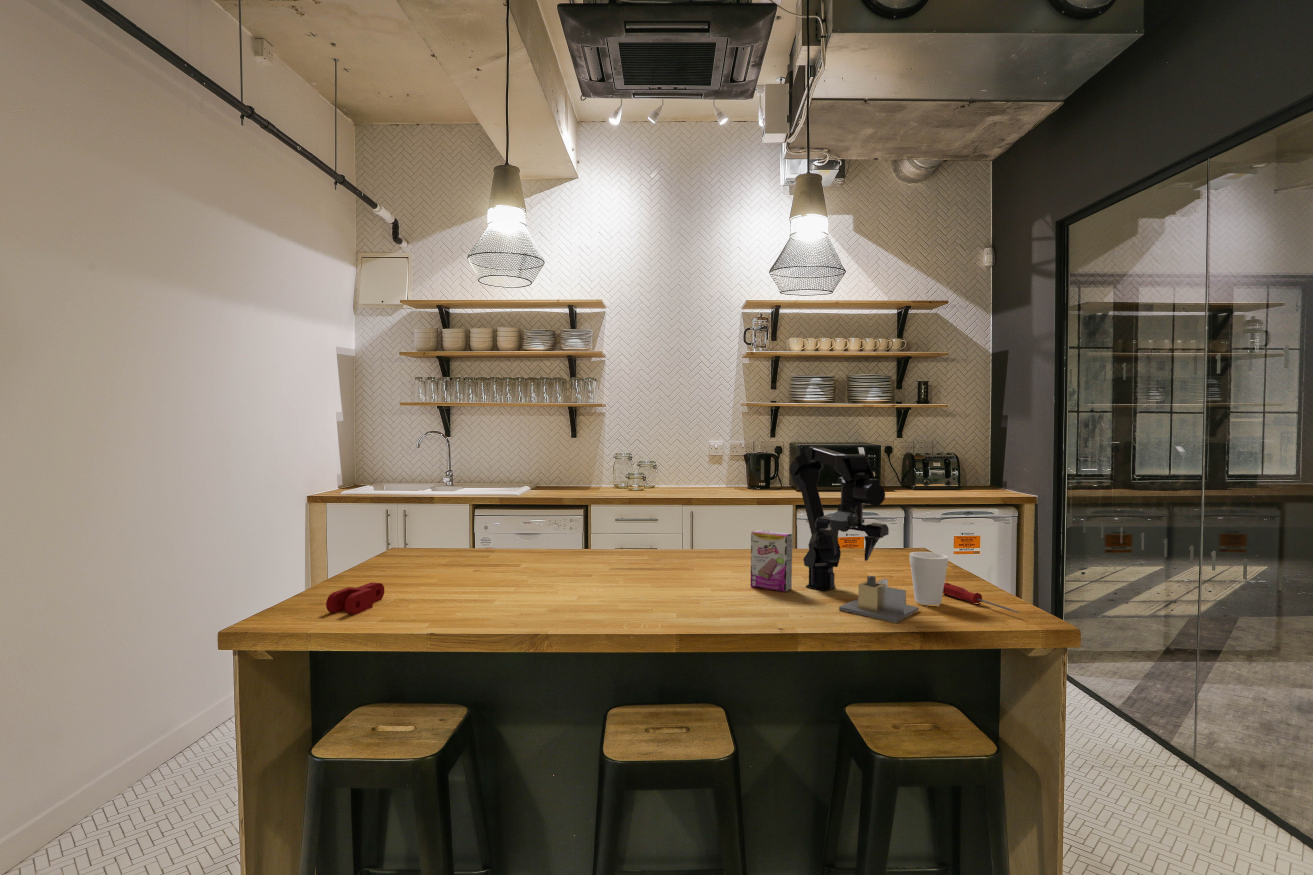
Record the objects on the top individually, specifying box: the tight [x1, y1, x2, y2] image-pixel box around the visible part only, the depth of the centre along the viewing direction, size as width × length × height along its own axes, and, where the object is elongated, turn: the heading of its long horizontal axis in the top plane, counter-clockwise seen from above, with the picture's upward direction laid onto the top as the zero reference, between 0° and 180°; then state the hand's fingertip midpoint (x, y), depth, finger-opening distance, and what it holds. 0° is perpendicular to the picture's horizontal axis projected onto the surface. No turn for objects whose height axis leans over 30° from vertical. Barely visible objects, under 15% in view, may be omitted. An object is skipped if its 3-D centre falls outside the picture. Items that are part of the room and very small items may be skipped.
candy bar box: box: [750, 529, 793, 593], centre depth 187 cm, size 11×5×16 cm, turn 58°
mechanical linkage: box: [325, 582, 385, 616], centre depth 166 cm, size 16×7×5 cm, turn 167°
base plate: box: [838, 598, 920, 624], centre depth 165 cm, size 15×14×1 cm
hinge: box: [857, 578, 907, 615], centre depth 164 cm, size 11×11×6 cm
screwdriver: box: [943, 582, 1021, 614], centre depth 171 cm, size 4×25×4 cm, turn 19°
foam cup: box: [909, 551, 949, 605], centre depth 172 cm, size 10×9×13 cm
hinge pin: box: [866, 575, 877, 587], centre depth 164 cm, size 2×2×8 cm
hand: (850, 557), depth 175 cm, fingers open, 9 cm apart
